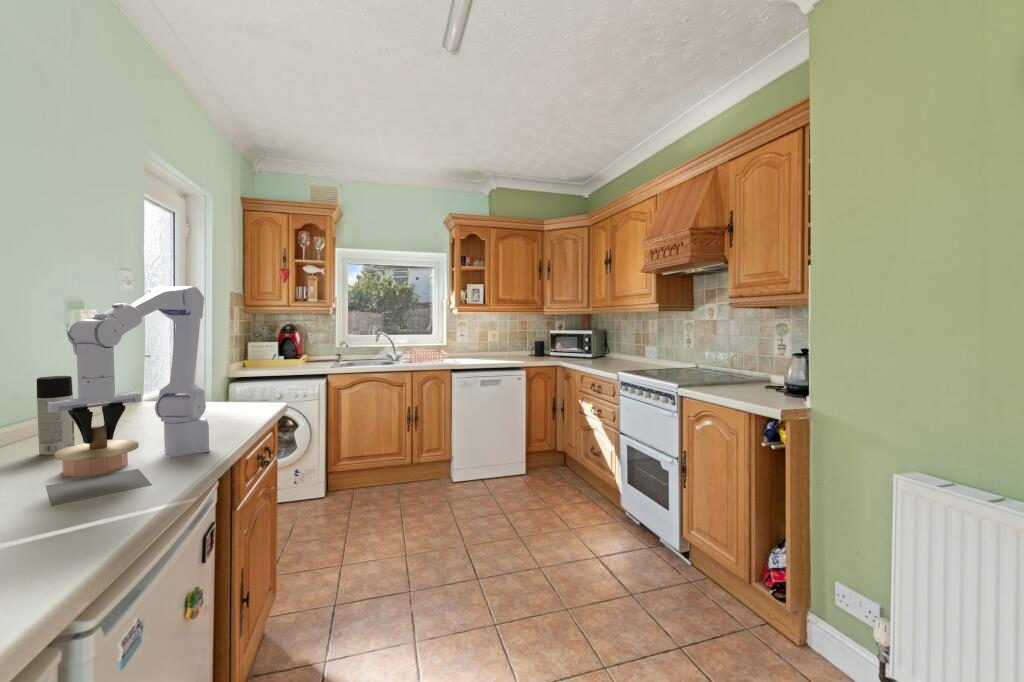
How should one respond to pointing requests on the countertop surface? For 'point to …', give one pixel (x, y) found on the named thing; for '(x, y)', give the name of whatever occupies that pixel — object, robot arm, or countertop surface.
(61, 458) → the lid
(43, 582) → the countertop surface
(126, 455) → the bowl
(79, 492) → the mat
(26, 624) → the countertop surface
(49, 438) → the spray can
